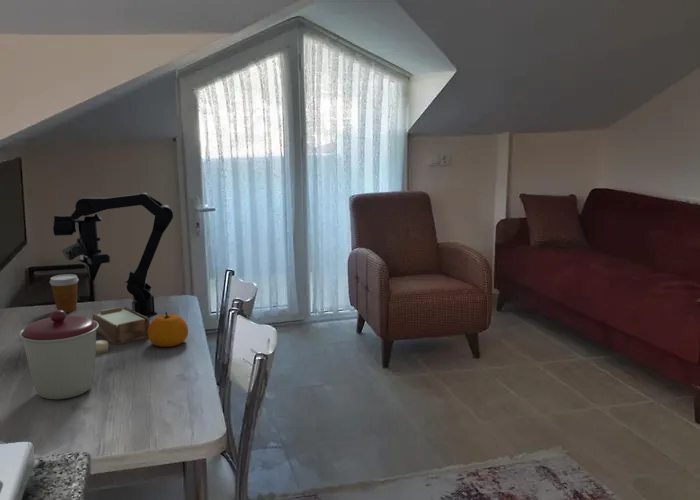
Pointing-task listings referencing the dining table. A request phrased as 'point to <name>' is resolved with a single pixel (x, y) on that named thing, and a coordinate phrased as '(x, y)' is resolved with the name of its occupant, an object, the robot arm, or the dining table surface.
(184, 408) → the dining table surface
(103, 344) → the tape roll
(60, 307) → the disposable coffee cup
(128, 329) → the walnut box
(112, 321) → the lid
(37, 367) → the canister
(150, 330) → the fruit
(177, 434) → the dining table surface
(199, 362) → the dining table surface
